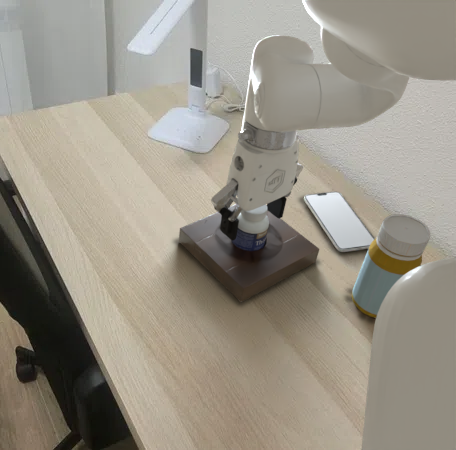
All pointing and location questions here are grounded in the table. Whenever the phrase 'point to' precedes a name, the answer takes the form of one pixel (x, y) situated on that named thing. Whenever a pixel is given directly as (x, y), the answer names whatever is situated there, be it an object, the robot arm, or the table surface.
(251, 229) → the pill bottle
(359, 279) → the bottle
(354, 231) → the smartphone
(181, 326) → the table surface
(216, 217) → the socket board
